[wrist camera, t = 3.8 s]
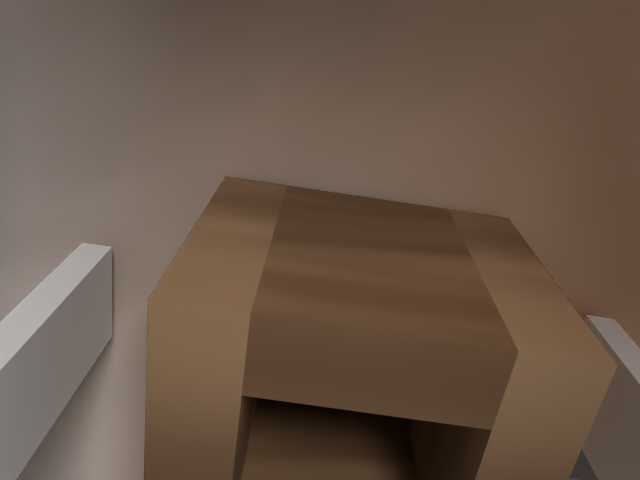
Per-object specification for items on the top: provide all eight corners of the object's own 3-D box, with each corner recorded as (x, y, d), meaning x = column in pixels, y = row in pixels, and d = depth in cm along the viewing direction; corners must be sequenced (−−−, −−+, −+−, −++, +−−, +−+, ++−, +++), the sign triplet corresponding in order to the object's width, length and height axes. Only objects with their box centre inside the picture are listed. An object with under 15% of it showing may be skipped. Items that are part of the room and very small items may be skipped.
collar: (225, 176, 14) (148, 299, 8) (508, 218, 14) (617, 365, 8) (207, 404, 16) (140, 608, 11) (443, 436, 17) (493, 654, 11)
